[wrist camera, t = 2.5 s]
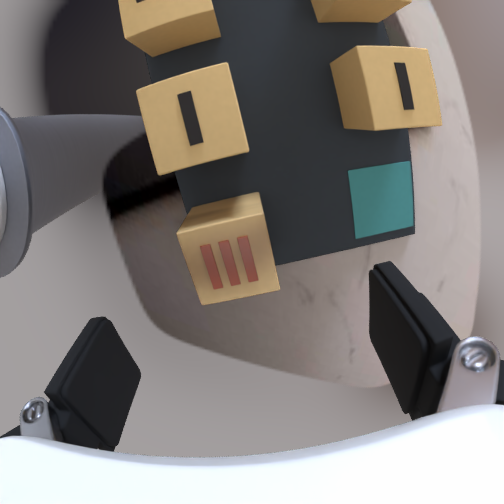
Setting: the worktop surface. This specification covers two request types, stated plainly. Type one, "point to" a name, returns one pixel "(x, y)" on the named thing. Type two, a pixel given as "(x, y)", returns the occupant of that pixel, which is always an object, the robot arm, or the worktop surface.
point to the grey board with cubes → (287, 113)
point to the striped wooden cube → (228, 249)
